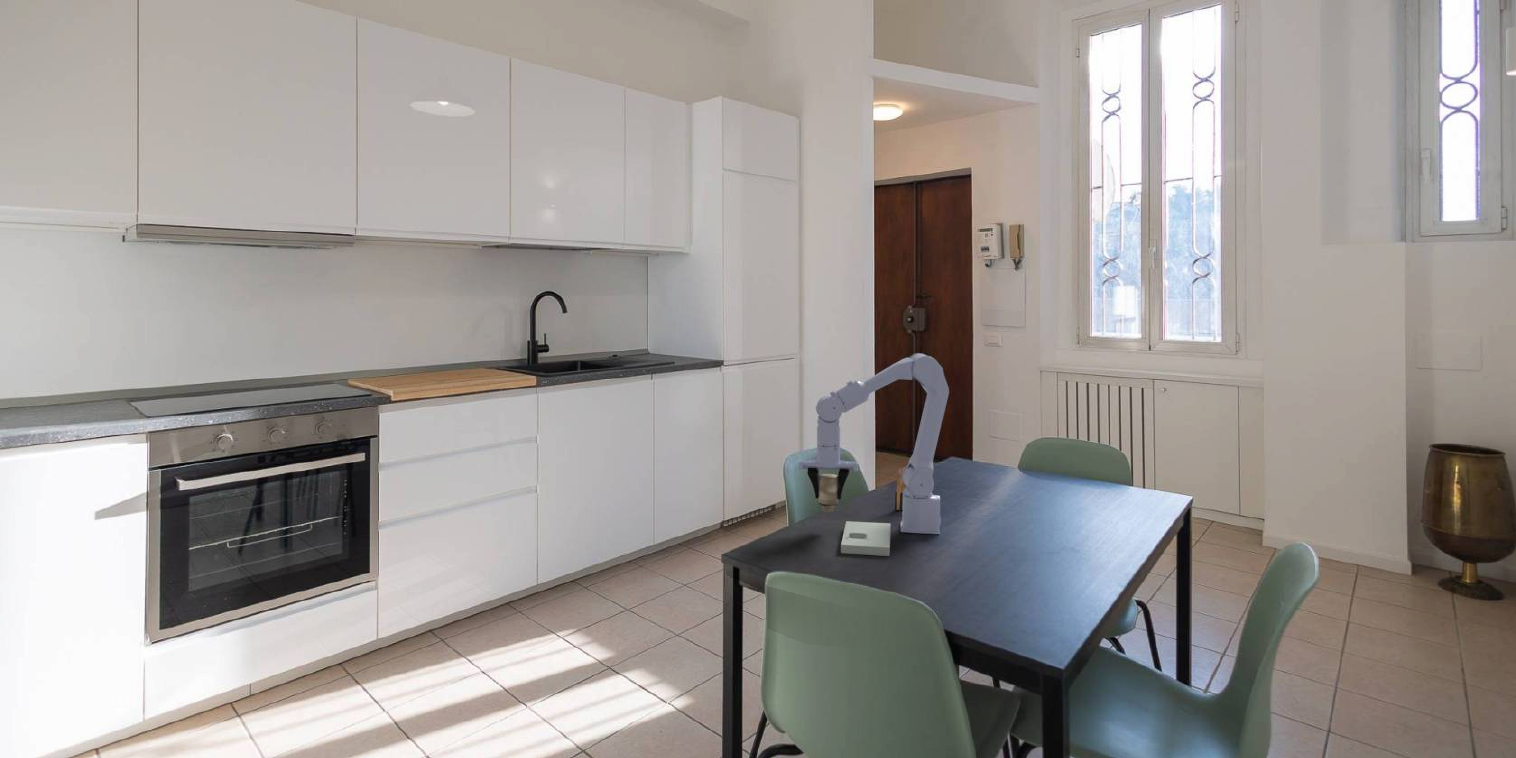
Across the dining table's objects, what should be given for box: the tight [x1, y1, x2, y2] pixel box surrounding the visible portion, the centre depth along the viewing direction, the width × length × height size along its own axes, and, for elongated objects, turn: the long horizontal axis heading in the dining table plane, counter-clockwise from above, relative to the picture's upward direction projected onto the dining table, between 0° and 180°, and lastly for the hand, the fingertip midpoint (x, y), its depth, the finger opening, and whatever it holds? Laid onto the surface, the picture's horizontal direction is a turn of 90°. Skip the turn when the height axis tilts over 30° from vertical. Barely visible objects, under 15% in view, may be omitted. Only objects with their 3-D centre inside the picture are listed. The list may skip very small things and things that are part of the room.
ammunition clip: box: [894, 464, 908, 512], centre depth 209 cm, size 11×2×12 cm, turn 138°
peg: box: [818, 473, 839, 513], centre depth 189 cm, size 5×5×9 cm
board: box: [840, 520, 891, 557], centre depth 180 cm, size 11×18×2 cm, turn 169°
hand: (828, 497), depth 189 cm, fingers closed on peg, 5 cm apart
